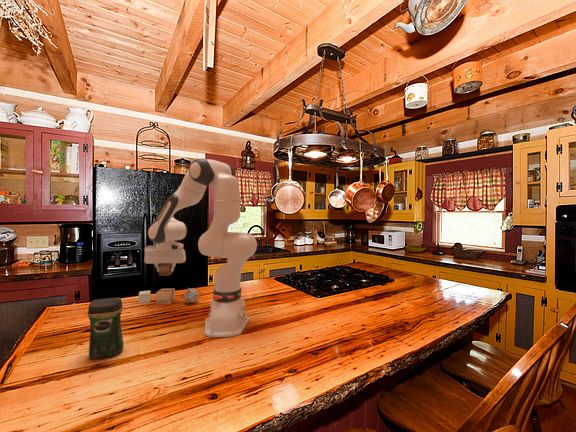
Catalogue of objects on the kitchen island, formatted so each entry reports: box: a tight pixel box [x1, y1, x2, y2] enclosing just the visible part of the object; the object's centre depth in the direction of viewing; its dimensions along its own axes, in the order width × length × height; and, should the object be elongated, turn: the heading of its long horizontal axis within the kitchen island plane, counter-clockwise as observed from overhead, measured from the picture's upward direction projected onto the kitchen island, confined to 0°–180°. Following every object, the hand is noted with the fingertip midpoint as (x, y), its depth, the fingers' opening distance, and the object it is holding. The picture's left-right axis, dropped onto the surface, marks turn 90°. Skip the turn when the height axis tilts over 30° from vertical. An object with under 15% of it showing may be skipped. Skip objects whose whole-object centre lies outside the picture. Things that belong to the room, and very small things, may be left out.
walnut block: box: [158, 263, 173, 277], centre depth 142 cm, size 5×5×5 cm
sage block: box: [138, 290, 152, 305], centre depth 142 cm, size 5×5×5 cm
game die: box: [181, 286, 200, 305], centre depth 140 cm, size 9×8×10 cm
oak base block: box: [155, 288, 176, 305], centre depth 142 cm, size 7×7×6 cm
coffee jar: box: [87, 296, 124, 360], centre depth 91 cm, size 10×8×19 cm
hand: (165, 271), depth 142 cm, fingers closed on walnut block, 5 cm apart
